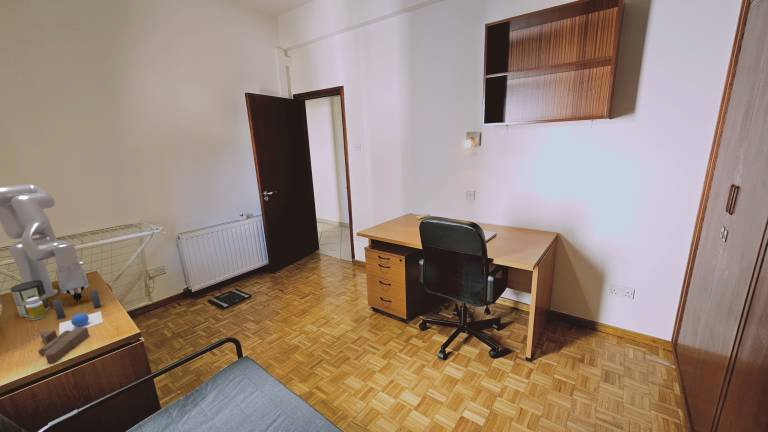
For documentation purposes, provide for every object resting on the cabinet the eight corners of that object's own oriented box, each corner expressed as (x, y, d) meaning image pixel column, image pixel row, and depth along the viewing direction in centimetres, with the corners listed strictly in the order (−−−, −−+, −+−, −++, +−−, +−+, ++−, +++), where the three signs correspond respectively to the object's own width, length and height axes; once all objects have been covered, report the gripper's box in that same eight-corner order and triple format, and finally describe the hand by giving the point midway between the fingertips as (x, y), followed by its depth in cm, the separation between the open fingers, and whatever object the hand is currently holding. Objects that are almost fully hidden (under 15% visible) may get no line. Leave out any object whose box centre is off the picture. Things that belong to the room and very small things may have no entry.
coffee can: (39, 304, 156) (31, 279, 153) (56, 306, 154) (48, 280, 151) (13, 315, 146) (3, 289, 143) (29, 317, 144) (20, 290, 141)
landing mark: (59, 323, 139) (59, 323, 139) (100, 311, 148) (100, 311, 148) (59, 336, 129) (59, 336, 129) (103, 322, 139) (103, 322, 139)
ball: (73, 331, 134) (72, 322, 137) (90, 325, 138) (88, 317, 141) (70, 322, 132) (69, 313, 135) (88, 317, 136) (86, 308, 139)
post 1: (57, 317, 144) (52, 300, 142) (65, 315, 146) (60, 298, 144) (57, 319, 142) (52, 302, 140) (65, 317, 144) (60, 300, 142)
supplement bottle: (35, 321, 141) (29, 302, 139) (26, 320, 142) (20, 301, 140) (49, 314, 147) (44, 296, 144) (41, 313, 148) (35, 295, 145)
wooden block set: (88, 323, 130) (52, 351, 112) (91, 335, 131) (56, 364, 114) (41, 328, 127) (-4, 357, 109) (45, 340, 128) (1, 370, 111)
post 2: (94, 307, 153) (89, 290, 151) (101, 305, 155) (96, 288, 152) (94, 308, 151) (89, 292, 149) (101, 306, 153) (97, 290, 151)
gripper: (89, 260, 160) (97, 292, 165) (47, 269, 150) (57, 303, 154) (89, 264, 155) (98, 297, 160) (46, 273, 145) (57, 308, 149)
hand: (78, 300), depth 157 cm, fingers closed
